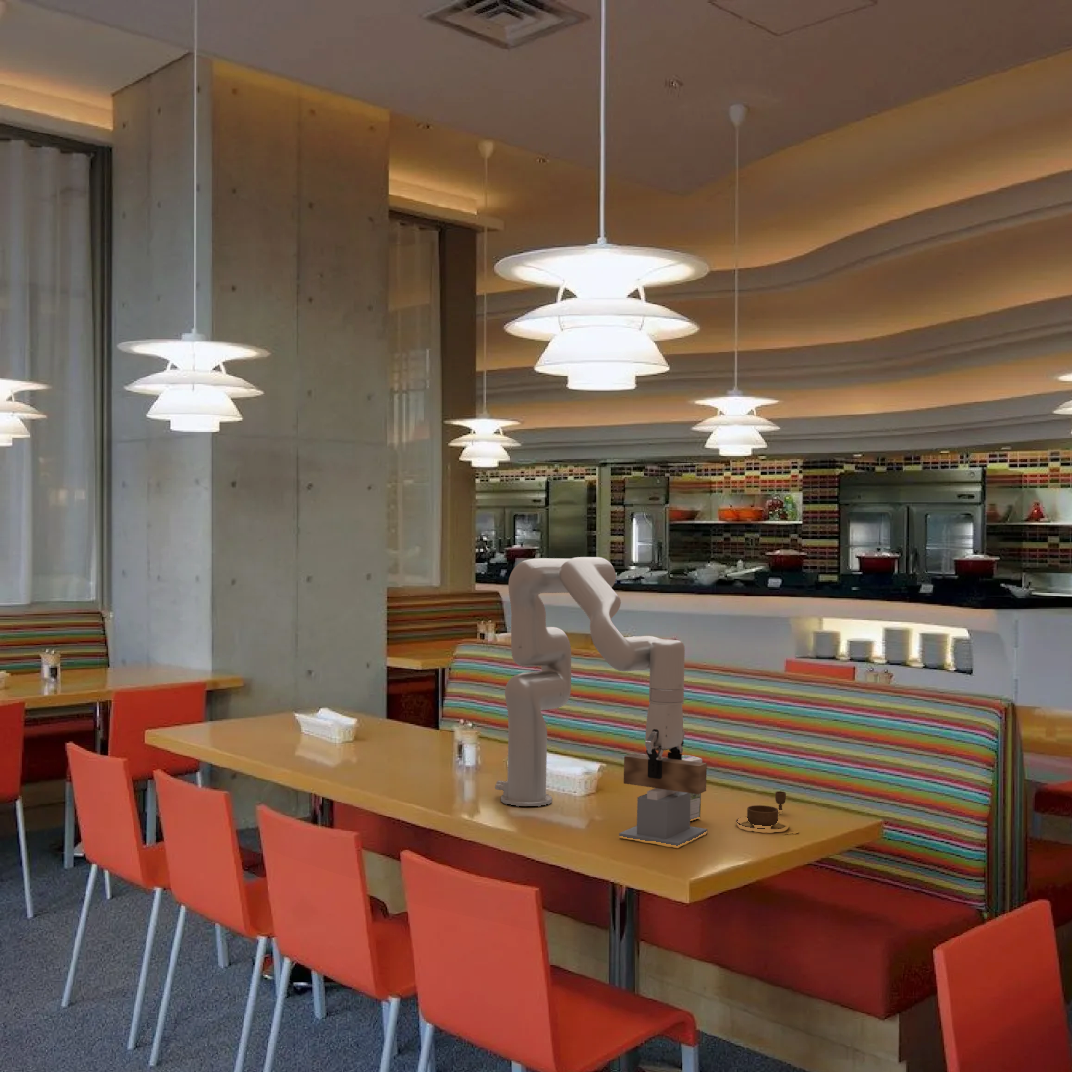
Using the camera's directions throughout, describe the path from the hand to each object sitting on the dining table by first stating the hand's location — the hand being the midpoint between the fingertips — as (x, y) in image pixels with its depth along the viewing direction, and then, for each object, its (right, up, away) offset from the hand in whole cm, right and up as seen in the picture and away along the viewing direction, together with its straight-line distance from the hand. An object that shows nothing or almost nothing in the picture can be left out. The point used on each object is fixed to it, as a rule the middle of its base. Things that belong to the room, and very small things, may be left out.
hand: (664, 774), depth 259 cm
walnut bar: (0, -3, 0) cm, 3 cm away
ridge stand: (0, -14, 0) cm, 14 cm away
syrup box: (+6, -14, +16) cm, 22 cm away
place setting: (+27, -15, +13) cm, 33 cm away
